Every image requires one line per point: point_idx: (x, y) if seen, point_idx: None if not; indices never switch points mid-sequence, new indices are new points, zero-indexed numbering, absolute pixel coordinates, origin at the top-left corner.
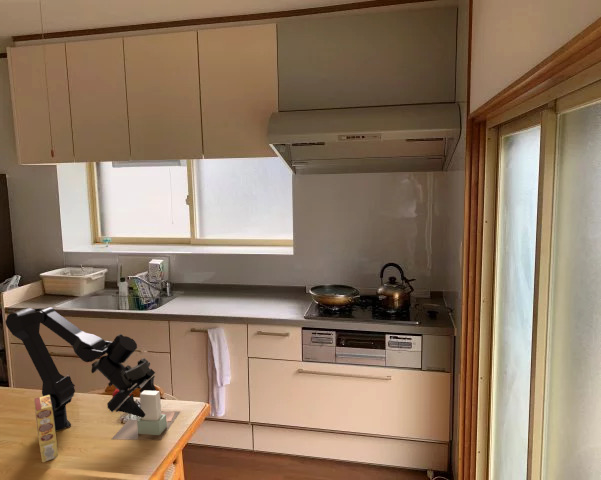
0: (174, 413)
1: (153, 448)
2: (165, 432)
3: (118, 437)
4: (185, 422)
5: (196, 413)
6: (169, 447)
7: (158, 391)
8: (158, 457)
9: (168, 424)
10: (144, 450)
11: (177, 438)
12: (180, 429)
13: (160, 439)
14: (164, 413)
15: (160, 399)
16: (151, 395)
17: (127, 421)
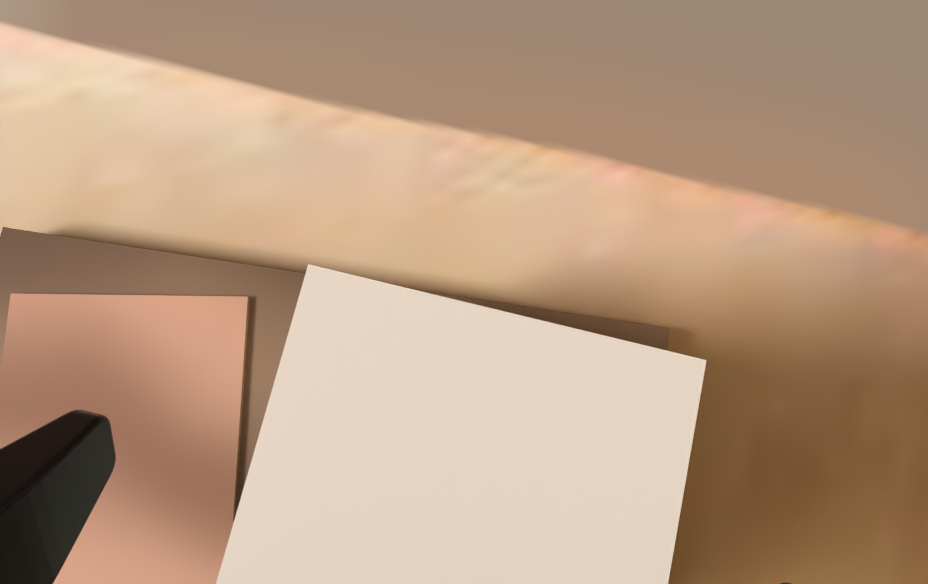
0: (46, 294)
1: (748, 393)
2: (508, 310)
3: None
4: (239, 149)
5: (48, 58)
6: (736, 224)
7: (345, 304)
8: (909, 298)
9: None
10: (783, 486)
11: (571, 175)
12: (388, 177)
13: (654, 335)
14: (16, 433)
15: (79, 411)
16: (653, 558)
17: None
